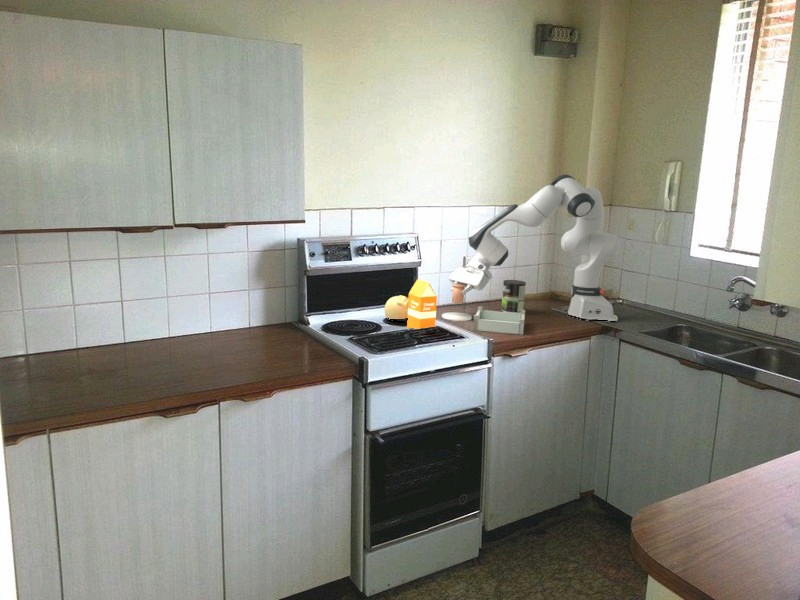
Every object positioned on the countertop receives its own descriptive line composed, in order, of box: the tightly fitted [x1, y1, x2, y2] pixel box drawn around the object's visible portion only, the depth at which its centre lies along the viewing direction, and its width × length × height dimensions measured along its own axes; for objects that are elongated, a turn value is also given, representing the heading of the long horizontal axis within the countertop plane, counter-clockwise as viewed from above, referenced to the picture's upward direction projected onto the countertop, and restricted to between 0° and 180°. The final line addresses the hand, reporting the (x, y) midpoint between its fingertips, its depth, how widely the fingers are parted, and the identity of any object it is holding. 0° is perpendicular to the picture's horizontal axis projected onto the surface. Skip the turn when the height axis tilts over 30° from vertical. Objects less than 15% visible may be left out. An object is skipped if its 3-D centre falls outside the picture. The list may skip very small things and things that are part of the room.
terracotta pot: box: [451, 283, 466, 305], centre depth 292 cm, size 6×6×8 cm
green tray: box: [472, 305, 526, 335], centre depth 281 cm, size 20×20×6 cm
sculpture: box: [384, 294, 409, 320], centre depth 284 cm, size 11×12×11 cm
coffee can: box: [500, 279, 527, 313], centre depth 312 cm, size 10×10×14 cm
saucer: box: [441, 311, 473, 322], centre depth 295 cm, size 13×13×1 cm
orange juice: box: [406, 279, 438, 329], centre depth 267 cm, size 8×9×20 cm
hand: (457, 292), depth 292 cm, fingers closed on terracotta pot, 5 cm apart
